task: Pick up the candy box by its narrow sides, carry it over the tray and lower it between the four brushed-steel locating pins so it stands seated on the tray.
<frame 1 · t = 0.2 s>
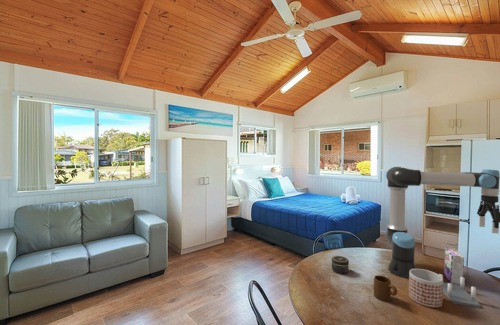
hand: (488, 229, 147), 28 cm above the table, fingers open, 13 cm apart
planter: (424, 300, 122), on the table
jar: (339, 271, 151), on the table
candy box: (452, 279, 143), on the table
mug: (385, 299, 122), on the table
tray: (455, 294, 127), on the table
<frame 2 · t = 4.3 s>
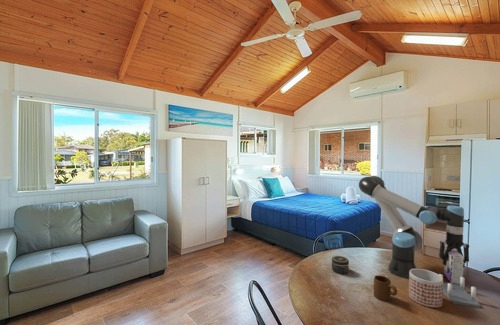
hand: (453, 271, 142), 4 cm above the table, fingers closed on candy box, 6 cm apart
candy box: (452, 279, 143), on the table, touching gripper
everything else where it was.
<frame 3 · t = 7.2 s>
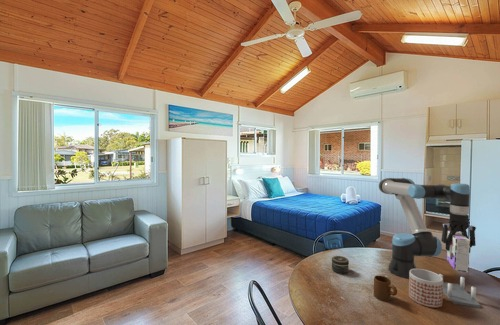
hand: (457, 257, 126), 20 cm above the table, fingers closed on candy box, 6 cm apart
candy box: (457, 266, 126), point 15 cm above the table, touching gripper
everything else where it was.
when the fingers open (7 cm above the table, at t = 10.1 s): candy box drops 1 cm, resting on tray.
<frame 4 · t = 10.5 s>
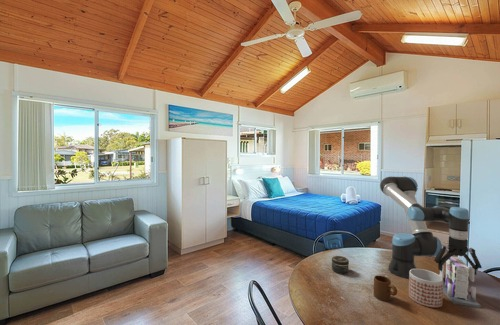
hand: (456, 278, 126), 8 cm above the table, fingers open, 12 cm apart
candy box: (455, 292, 127), point 1 cm above the table, touching tray
everything else where it was.
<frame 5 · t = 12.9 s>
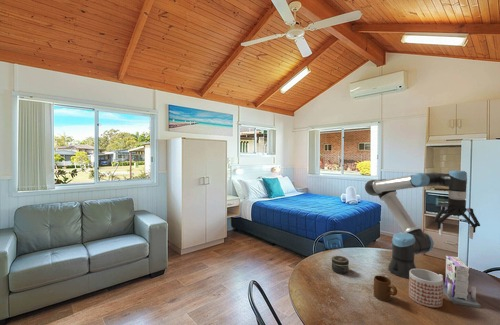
hand: (455, 236, 135), 28 cm above the table, fingers open, 13 cm apart
nothing on the table moved.
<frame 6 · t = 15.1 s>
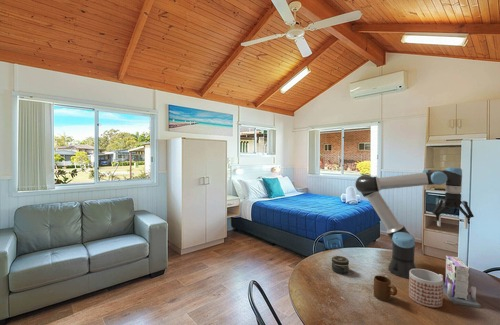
hand: (451, 227, 149), 29 cm above the table, fingers open, 13 cm apart
nothing on the table moved.
at the end: candy box inside the target area on the tray (0.1 cm from its centre), point 1.0 cm above the tray's base; candy box tilted 0°; the gripper is holding nothing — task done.
